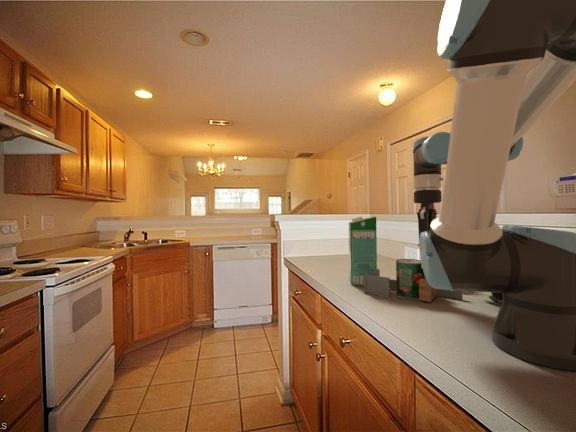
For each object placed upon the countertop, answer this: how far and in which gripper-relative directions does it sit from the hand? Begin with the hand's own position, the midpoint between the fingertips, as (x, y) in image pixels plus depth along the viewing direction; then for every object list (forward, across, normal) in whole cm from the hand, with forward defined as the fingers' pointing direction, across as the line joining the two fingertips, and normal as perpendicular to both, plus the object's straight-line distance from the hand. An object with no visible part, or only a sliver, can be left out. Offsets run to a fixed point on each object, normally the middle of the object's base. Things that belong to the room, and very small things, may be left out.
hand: (428, 267), depth 84 cm
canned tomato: (+10, 0, +5) cm, 11 cm away
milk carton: (+10, +7, +24) cm, 27 cm away
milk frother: (+10, +7, -19) cm, 23 cm away
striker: (+10, 0, 0) cm, 10 cm away
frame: (+10, 0, +5) cm, 11 cm away
